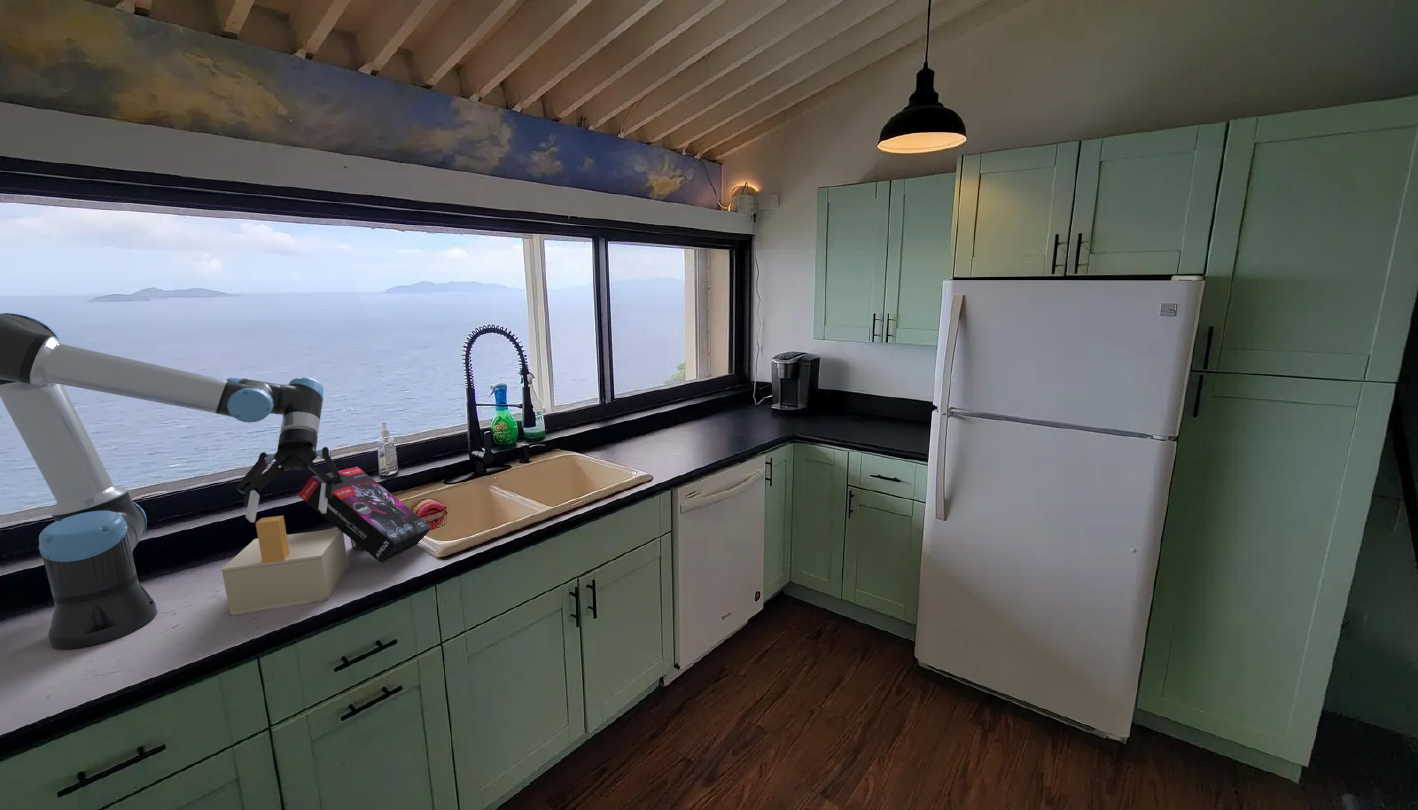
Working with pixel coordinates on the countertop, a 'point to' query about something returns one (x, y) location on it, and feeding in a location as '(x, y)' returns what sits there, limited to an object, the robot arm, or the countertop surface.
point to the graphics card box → (368, 514)
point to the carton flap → (281, 545)
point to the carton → (286, 582)
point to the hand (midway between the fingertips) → (286, 515)
